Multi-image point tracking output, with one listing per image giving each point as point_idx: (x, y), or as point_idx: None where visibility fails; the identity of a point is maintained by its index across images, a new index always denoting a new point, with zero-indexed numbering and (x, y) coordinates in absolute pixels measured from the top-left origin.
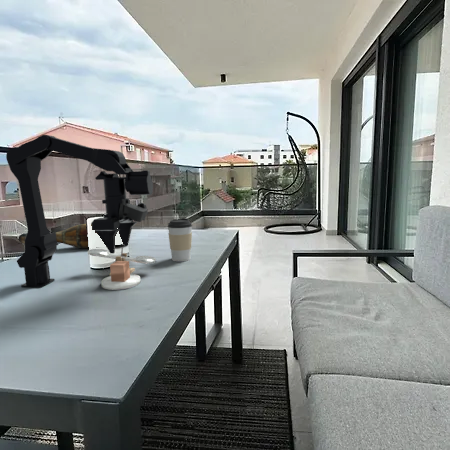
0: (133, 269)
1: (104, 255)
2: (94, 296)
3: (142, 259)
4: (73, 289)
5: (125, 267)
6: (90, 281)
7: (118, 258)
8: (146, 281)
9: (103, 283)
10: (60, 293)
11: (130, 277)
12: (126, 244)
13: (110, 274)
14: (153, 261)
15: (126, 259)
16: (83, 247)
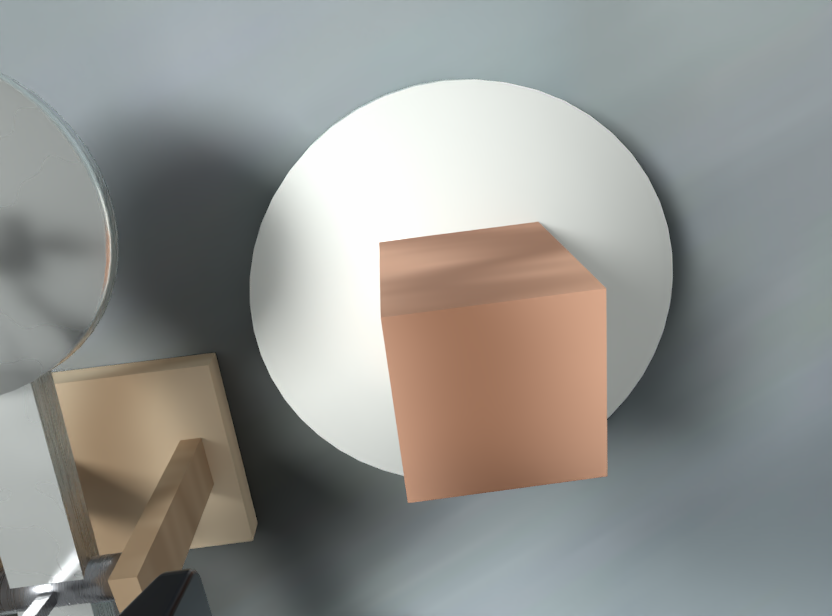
0: None
1: None
2: (817, 333)
3: (4, 256)
4: (651, 581)
5: (523, 277)
6: (448, 578)
7: None
8: (342, 29)
9: (609, 404)
10: (739, 608)
11: (379, 236)
12: (190, 609)
13: (254, 523)
14: None
15: (74, 500)
16: None
